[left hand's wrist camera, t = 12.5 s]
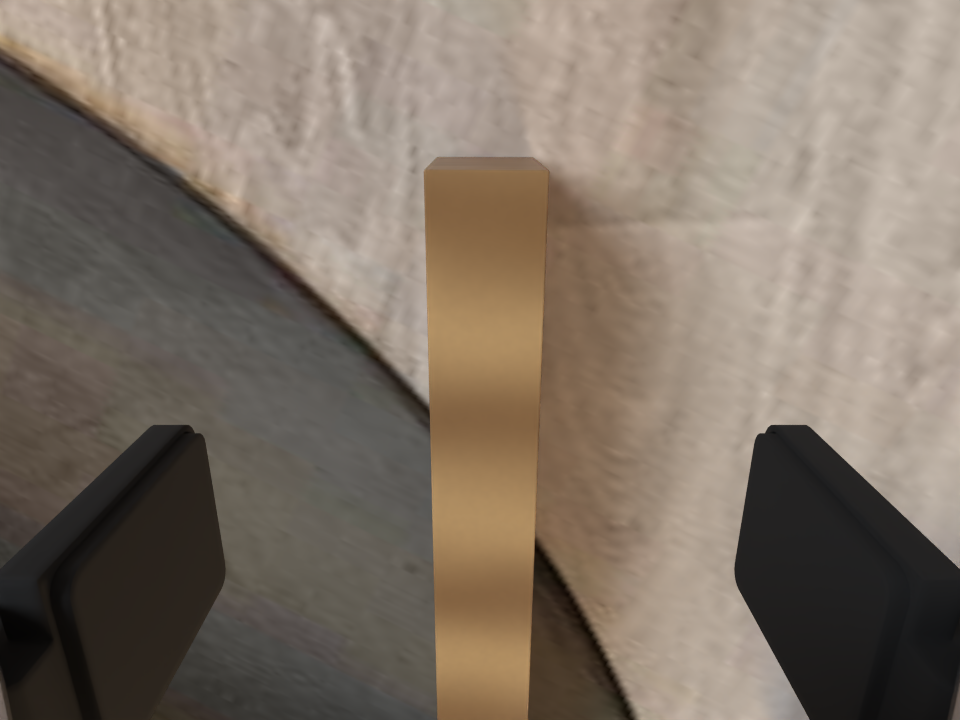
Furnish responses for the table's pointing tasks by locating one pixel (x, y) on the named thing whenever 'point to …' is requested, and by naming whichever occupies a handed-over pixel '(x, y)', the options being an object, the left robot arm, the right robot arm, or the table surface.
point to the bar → (484, 423)
